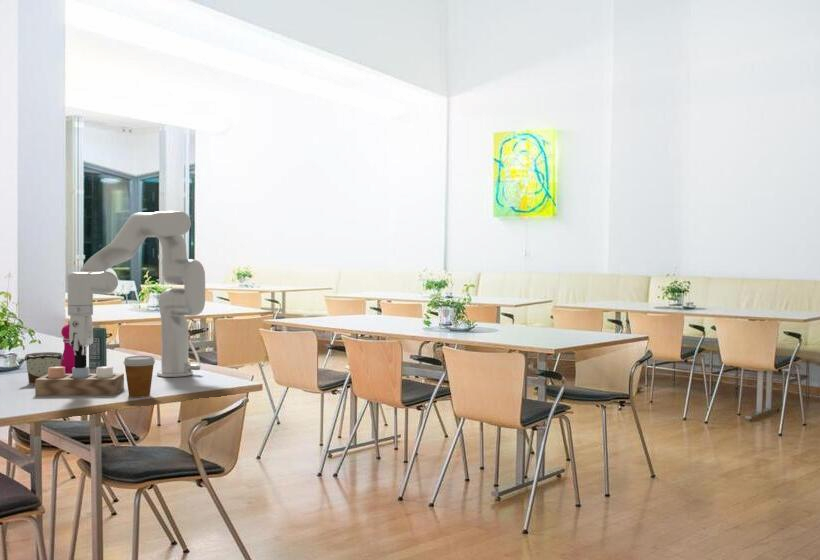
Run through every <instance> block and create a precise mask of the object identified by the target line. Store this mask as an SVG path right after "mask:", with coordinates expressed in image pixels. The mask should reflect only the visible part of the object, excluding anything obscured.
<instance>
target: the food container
mask: <svg viewBox="0 0 820 560" xmlns="http://www.w3.org/2000/svg"><path fill="white" fill-rule="evenodd" d="M62 359H63V352H56V351H54V352H53V351H49V352H48V351H47V352H46V351H45V352H44V351H43V352H32V353H27V354H25V356H24V360H23V362H26V370H27V379H28V385H35V379H38V378H40V377H42V376H45V375H47V374H48V368H49V367H61V361H62ZM63 360H64V359H63Z"/></svg>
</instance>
